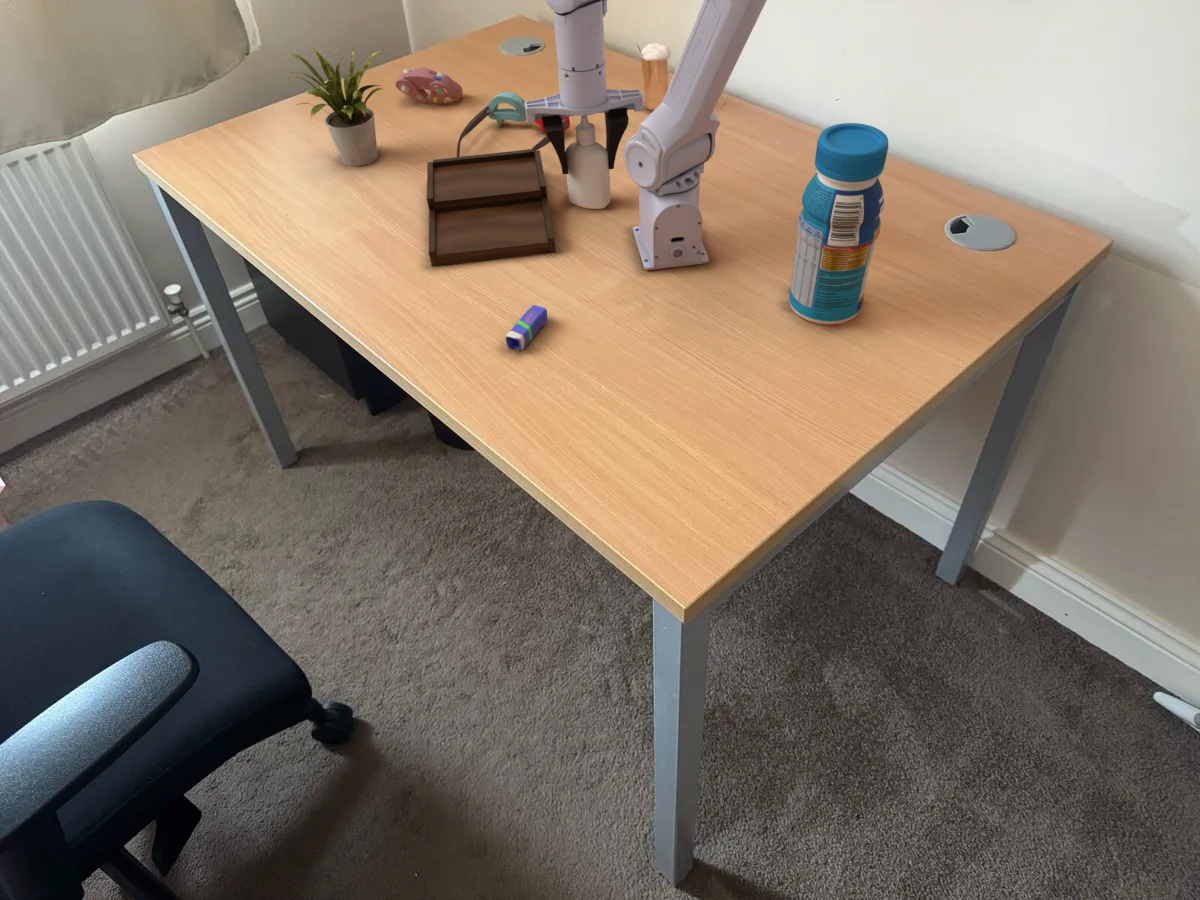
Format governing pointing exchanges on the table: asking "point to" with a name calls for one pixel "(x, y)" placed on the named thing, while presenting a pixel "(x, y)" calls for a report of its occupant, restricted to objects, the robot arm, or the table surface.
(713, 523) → the table surface
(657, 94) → the frothy drink cup
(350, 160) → the house plant
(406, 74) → the video game controller
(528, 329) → the eraser
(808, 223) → the beverage bottle
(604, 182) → the eye dropper bottle
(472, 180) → the step shelf
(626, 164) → the robot arm
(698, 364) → the table surface
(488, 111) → the novelty glasses
